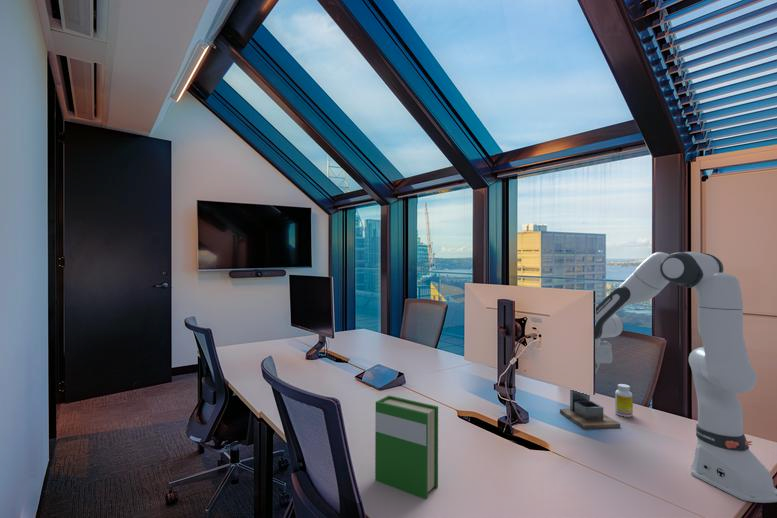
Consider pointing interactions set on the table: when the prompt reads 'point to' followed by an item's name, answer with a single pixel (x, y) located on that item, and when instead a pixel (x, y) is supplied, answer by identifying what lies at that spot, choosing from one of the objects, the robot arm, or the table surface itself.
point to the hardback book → (406, 445)
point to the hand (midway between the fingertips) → (588, 373)
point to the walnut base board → (590, 421)
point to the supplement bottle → (623, 401)
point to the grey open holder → (585, 406)
